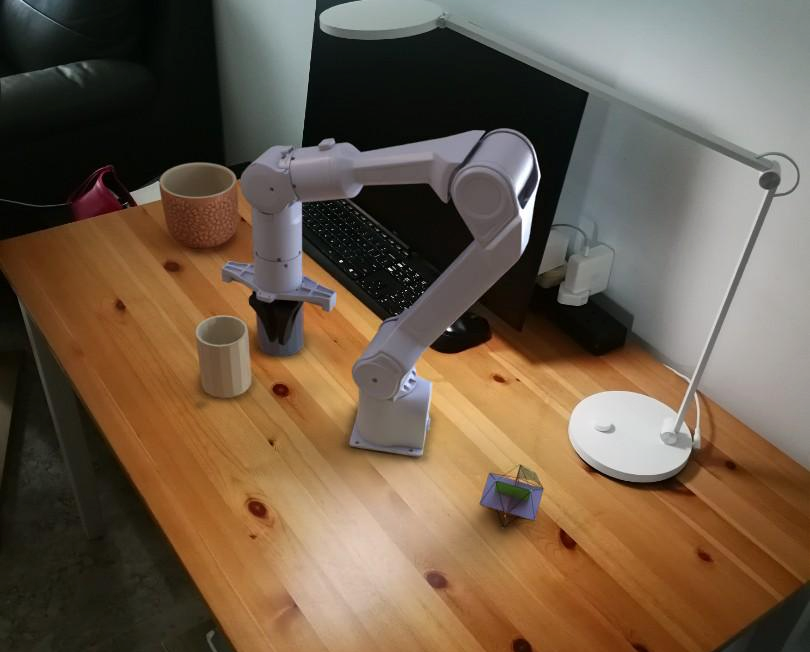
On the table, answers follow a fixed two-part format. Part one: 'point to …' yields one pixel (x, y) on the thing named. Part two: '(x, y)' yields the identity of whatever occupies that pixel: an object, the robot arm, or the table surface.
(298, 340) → the blue cup
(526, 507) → the geometric puzzle
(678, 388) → the table surface
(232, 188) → the planter
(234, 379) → the cream cup
